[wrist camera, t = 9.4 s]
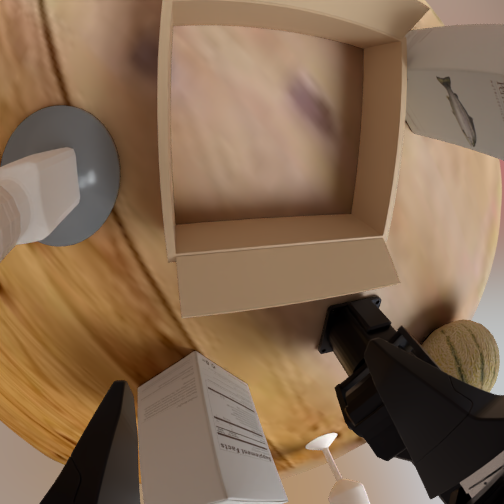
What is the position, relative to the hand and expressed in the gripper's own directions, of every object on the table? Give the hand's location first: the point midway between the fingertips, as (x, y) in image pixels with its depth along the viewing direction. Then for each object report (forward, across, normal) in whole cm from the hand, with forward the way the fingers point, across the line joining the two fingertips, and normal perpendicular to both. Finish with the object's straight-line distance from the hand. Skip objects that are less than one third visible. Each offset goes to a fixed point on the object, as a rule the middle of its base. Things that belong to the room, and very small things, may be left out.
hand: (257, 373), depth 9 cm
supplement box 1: (+13, +3, +18) cm, 23 cm away
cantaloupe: (+13, -33, +21) cm, 41 cm away
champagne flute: (+13, -18, +45) cm, 50 cm away
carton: (+13, -4, -8) cm, 16 cm away
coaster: (+13, +11, -5) cm, 18 cm away
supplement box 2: (+13, -17, -13) cm, 25 cm away
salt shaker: (+13, +11, -5) cm, 17 cm away
